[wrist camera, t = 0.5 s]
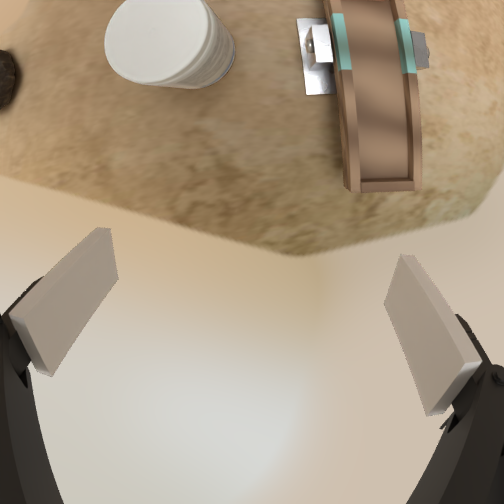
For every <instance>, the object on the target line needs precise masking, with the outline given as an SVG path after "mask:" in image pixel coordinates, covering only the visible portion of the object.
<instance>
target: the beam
mask: <svg viewBox="0 0 504 504" xmlns="http://www.w3.org/2000/svg"><path fill="white" fill-rule="evenodd" d="M323 4H324V9H325V15H326V20H327V25H328V29H329V35H330V42H331V49H332V56H333V65H334V73H335V81H336V89H337V99H338V108H339V119H340V131H341V145H342V161H343V181H344V187H345V188H346V189H348V190H349V191H350V192H351V193H352V192H361V193H368V192H393V191H415V190H422V133H421V114H420V101H419V90H418V80H417V72H416V64H415V57H414V51H413V45H412V39H411V33H410V28H409V23H408V18H407V14H406V9H405V5H404V1H403V0H385V1H376V0H323Z"/></svg>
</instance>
